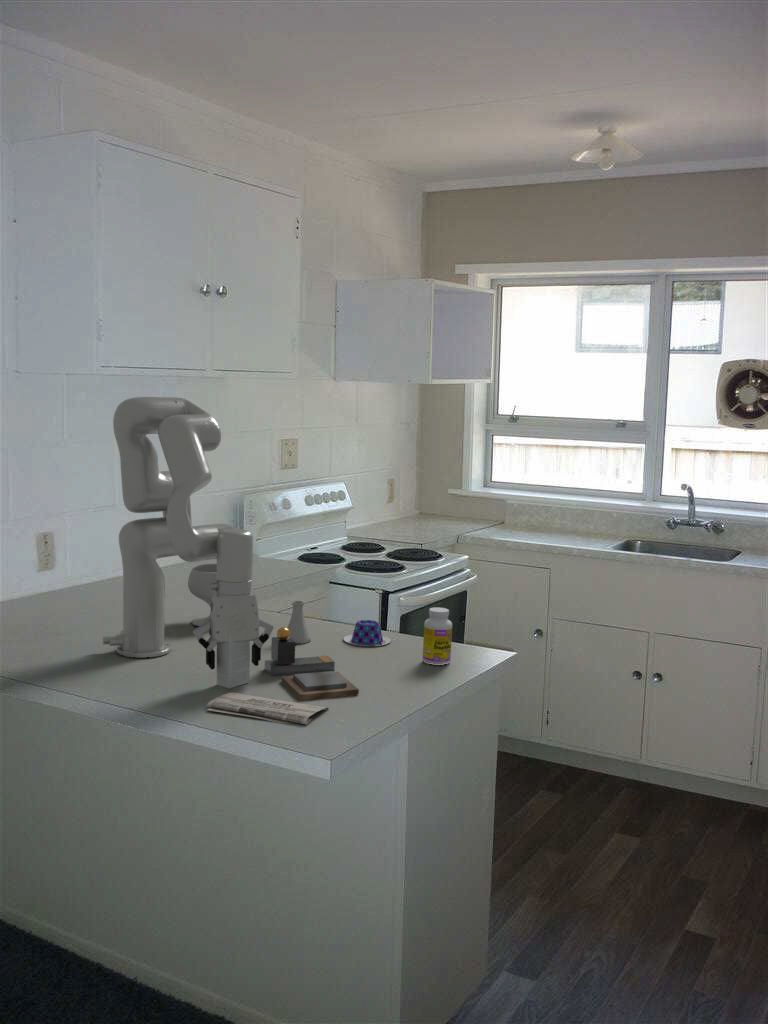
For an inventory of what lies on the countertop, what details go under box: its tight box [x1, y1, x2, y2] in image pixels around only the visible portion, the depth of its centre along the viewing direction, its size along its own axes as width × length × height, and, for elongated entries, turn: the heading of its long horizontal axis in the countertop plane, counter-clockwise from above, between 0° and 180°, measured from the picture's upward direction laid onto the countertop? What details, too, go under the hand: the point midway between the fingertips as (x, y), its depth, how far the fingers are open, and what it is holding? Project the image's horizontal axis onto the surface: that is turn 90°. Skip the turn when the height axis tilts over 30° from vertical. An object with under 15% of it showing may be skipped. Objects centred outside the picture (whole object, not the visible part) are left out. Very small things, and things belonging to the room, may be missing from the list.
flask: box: [286, 600, 312, 644], centre depth 253 cm, size 7×7×10 cm
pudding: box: [343, 619, 391, 647], centre depth 255 cm, size 12×12×5 cm
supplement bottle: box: [422, 607, 453, 664], centre depth 238 cm, size 7×7×13 cm
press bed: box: [281, 670, 360, 701], centre depth 216 cm, size 13×13×2 cm
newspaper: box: [206, 691, 330, 725], centre depth 201 cm, size 23×12×2 cm, turn 69°
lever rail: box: [264, 655, 335, 676], centre depth 229 cm, size 15×5×2 cm, turn 112°
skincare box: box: [216, 634, 251, 689], centre depth 216 cm, size 6×4×12 cm
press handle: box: [270, 626, 296, 665], centre depth 227 cm, size 4×5×8 cm
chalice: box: [187, 563, 217, 627], centre depth 267 cm, size 14×14×15 cm
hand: (233, 665), depth 217 cm, fingers open, 9 cm apart
